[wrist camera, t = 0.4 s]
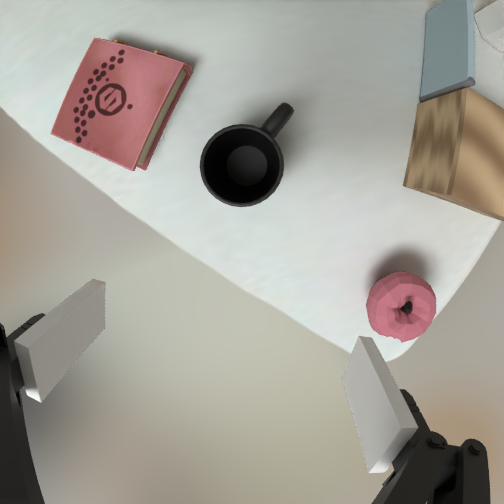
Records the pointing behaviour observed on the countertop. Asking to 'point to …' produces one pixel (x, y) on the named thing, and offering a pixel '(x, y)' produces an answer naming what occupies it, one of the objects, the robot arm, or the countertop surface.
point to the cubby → (459, 152)
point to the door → (448, 49)
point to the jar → (492, 23)
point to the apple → (401, 306)
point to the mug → (245, 161)
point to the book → (121, 102)
